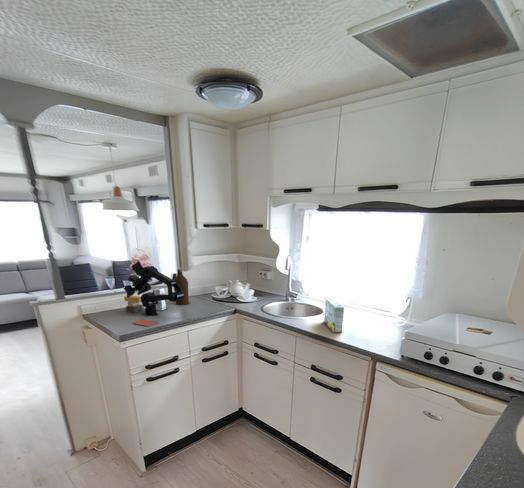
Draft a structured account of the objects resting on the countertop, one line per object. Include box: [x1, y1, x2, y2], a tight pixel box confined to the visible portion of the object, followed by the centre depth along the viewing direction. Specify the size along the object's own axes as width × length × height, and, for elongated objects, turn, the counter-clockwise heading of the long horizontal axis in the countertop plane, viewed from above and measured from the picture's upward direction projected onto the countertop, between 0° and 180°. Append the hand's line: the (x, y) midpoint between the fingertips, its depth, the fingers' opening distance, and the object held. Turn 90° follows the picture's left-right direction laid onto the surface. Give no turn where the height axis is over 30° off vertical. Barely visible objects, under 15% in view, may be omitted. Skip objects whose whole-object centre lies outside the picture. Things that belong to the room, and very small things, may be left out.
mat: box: [133, 319, 157, 327], centre depth 197 cm, size 11×8×1 cm
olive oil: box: [173, 268, 190, 306], centre depth 238 cm, size 11×11×25 cm
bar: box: [123, 295, 142, 303], centre depth 218 cm, size 11×4×3 cm, turn 64°
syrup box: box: [152, 287, 167, 311], centre depth 224 cm, size 6×6×14 cm
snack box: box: [323, 298, 345, 333], centre depth 193 cm, size 21×6×15 cm, turn 5°
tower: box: [125, 301, 143, 314], centre depth 220 cm, size 7×7×7 cm
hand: (132, 295), depth 218 cm, fingers open, 9 cm apart
